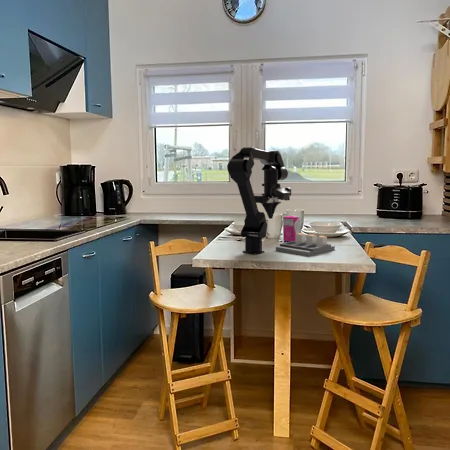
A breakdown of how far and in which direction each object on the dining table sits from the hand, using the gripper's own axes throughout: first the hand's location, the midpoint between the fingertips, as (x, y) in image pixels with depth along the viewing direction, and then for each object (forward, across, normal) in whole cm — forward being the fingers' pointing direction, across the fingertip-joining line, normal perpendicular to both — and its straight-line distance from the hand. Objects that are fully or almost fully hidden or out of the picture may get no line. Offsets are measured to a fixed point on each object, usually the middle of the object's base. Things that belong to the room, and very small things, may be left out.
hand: (270, 218), depth 191 cm
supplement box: (+12, +16, +1) cm, 20 cm away
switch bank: (+12, +4, -15) cm, 20 cm away
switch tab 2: (+10, +8, -15) cm, 20 cm away
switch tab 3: (+10, +8, -20) cm, 24 cm away
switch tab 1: (+10, +8, -10) cm, 16 cm away
